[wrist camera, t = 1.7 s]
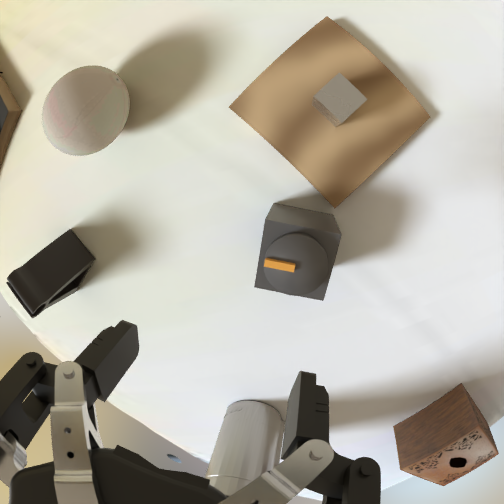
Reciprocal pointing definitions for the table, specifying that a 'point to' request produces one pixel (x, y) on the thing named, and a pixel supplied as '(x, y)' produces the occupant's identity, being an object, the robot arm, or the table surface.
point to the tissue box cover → (445, 439)
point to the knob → (297, 251)
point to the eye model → (85, 110)
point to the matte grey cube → (338, 99)
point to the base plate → (316, 124)
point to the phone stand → (51, 274)
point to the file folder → (7, 117)
